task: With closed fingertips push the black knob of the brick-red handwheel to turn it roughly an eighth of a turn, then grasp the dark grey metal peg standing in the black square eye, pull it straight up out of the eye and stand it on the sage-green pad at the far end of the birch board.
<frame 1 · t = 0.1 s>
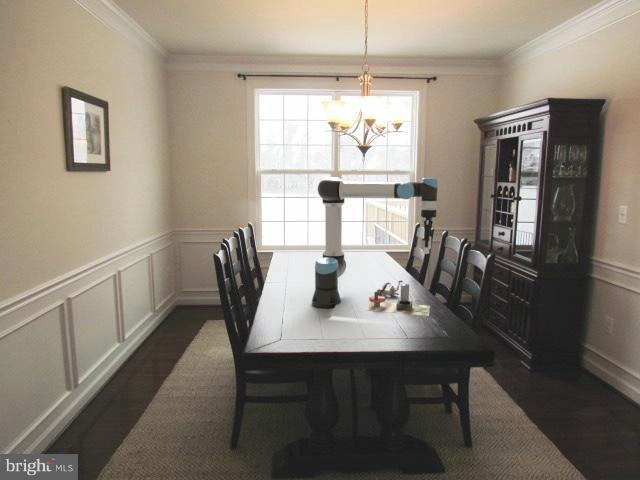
hand: (427, 251, 229), 28 cm above the table, fingers open, 13 cm apart
figurine: (389, 299, 243), on the table
peg: (404, 308, 222), point 1 cm above the table, touching board
handwheel: (377, 298, 225), point 6 cm above the table, hinge at 0.0°
board: (398, 310, 223), on the table
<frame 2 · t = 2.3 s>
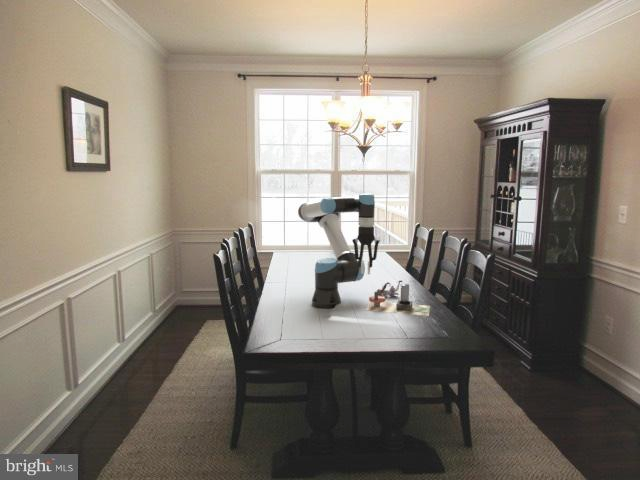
hand: (365, 273, 222), 19 cm above the table, fingers open, 3 cm apart
nothing on the table moved.
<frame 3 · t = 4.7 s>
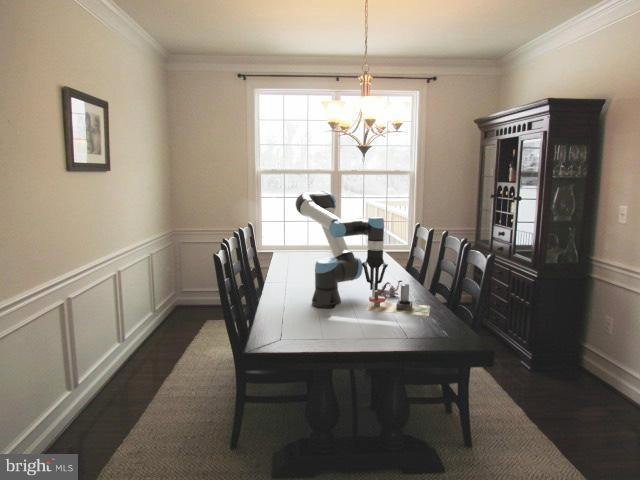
hand: (373, 296, 222), 7 cm above the table, fingers closed
handwheel: (377, 298, 225), point 6 cm above the table, hinge at 1.6°, touching gripper
everything else where it was.
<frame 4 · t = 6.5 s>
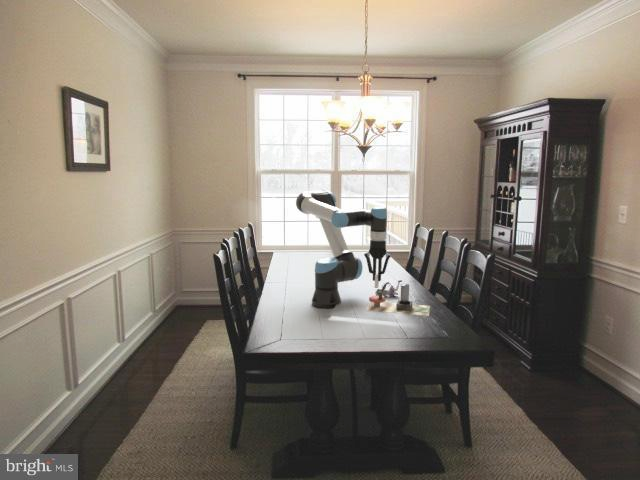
hand: (376, 287, 221), 12 cm above the table, fingers closed
handwheel: (377, 298, 225), point 6 cm above the table, hinge at 39.1°
everything else where it was.
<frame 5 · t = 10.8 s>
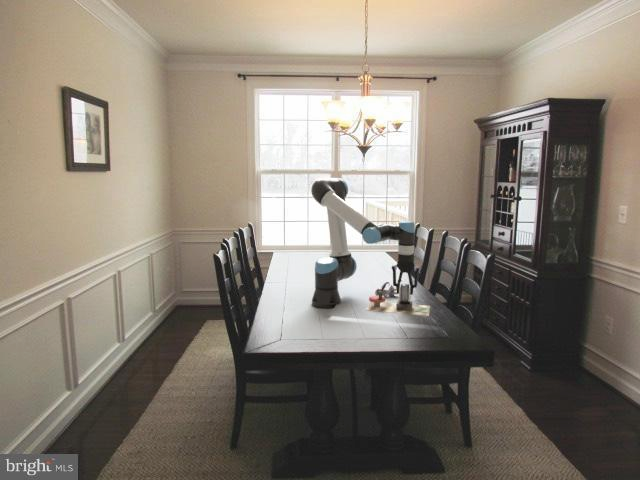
hand: (404, 300, 221), 6 cm above the table, fingers closed on peg, 4 cm apart
peg: (404, 308, 222), point 2 cm above the table, touching board, gripper
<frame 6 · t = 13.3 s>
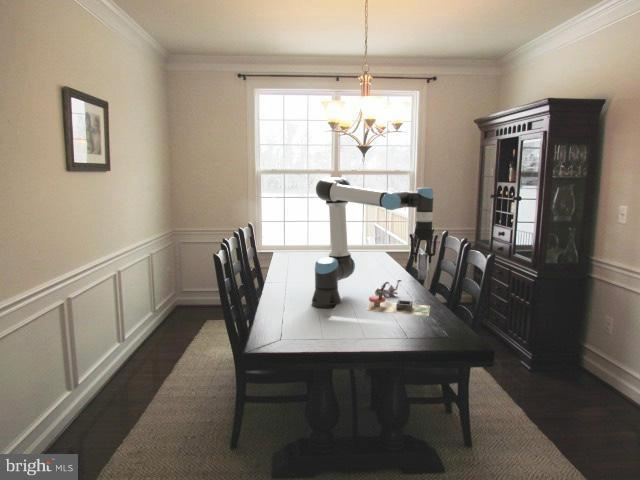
hand: (422, 269, 216), 22 cm above the table, fingers closed on peg, 4 cm apart
peg: (422, 278, 217), point 17 cm above the table, touching gripper
when the fingers open (7 cm above the table, at t = 16.1 s): peg stays where it is, resting on board.
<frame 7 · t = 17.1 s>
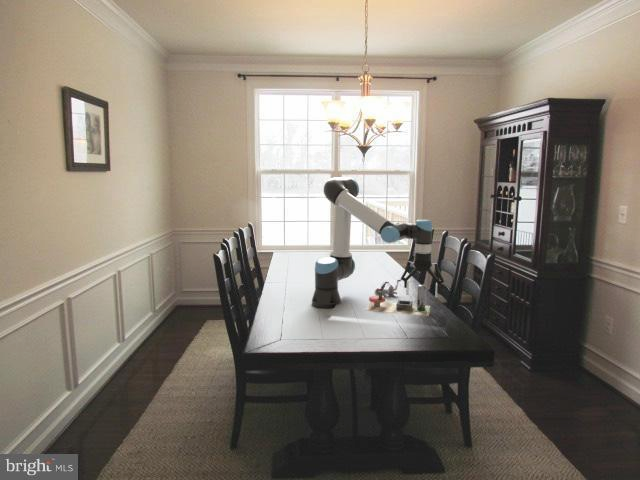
hand: (421, 295, 218), 9 cm above the table, fingers open, 13 cm apart
peg: (421, 309, 220), point 2 cm above the table, touching board
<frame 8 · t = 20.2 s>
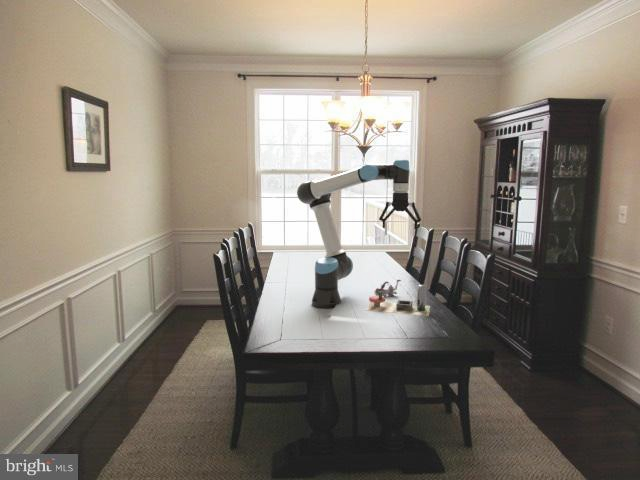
hand: (399, 235, 223), 37 cm above the table, fingers open, 13 cm apart
at the end: handwheel at +39° (first picture: +0°); peg inside the target area on the board (0.0 cm from its centre), point 1.7 cm above the board's base; peg tilted 0° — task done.
